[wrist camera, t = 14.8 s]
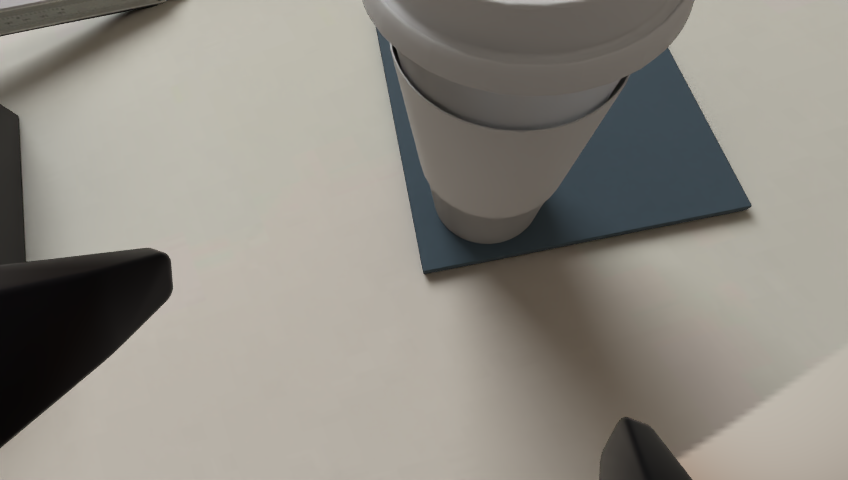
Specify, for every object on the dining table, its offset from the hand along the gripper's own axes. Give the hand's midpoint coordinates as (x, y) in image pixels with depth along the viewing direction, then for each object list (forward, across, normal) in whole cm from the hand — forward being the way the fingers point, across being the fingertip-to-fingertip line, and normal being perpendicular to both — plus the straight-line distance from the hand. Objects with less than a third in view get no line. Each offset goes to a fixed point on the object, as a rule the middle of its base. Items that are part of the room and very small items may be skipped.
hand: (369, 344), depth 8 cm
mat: (+17, -1, -4) cm, 17 cm away
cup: (+12, 0, +1) cm, 12 cm away
